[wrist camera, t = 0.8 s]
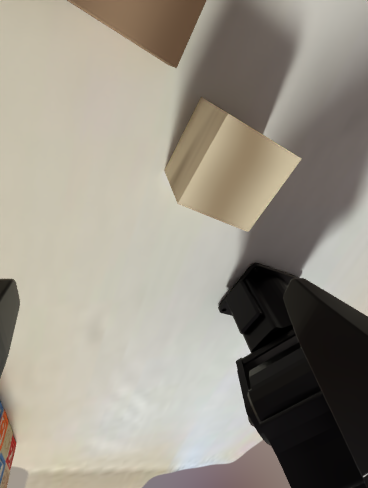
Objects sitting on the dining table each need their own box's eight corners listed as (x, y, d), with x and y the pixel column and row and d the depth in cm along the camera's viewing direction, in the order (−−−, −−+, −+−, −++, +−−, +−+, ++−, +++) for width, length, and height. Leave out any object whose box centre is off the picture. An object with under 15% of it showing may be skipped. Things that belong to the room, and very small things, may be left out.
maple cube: (261, 134, 19) (301, 158, 15) (222, 196, 21) (248, 231, 17) (200, 96, 17) (228, 113, 13) (164, 169, 19) (177, 203, 15)
